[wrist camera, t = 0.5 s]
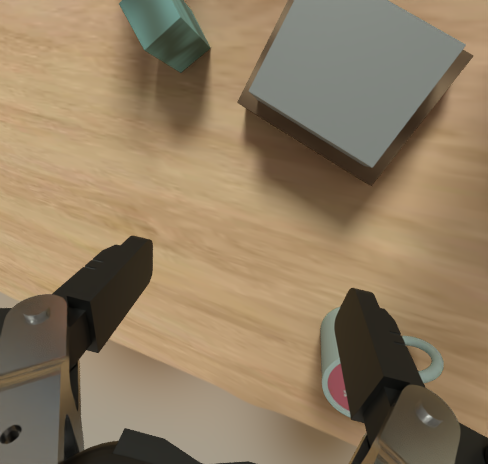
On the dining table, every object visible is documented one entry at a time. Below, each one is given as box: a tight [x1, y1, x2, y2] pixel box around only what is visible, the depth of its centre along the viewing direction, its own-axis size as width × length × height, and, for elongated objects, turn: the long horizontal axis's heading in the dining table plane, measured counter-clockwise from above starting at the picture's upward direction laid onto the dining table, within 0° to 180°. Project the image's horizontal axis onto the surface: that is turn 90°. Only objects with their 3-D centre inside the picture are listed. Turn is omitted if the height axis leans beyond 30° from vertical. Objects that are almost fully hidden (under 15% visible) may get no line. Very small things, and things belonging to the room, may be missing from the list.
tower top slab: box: [249, 0, 466, 168], centre depth 25 cm, size 11×14×4 cm
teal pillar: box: [119, 0, 210, 73], centre depth 30 cm, size 5×5×8 cm
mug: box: [321, 307, 443, 418], centre depth 33 cm, size 14×9×10 cm
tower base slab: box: [237, 0, 473, 186], centre depth 29 cm, size 14×18×4 cm
